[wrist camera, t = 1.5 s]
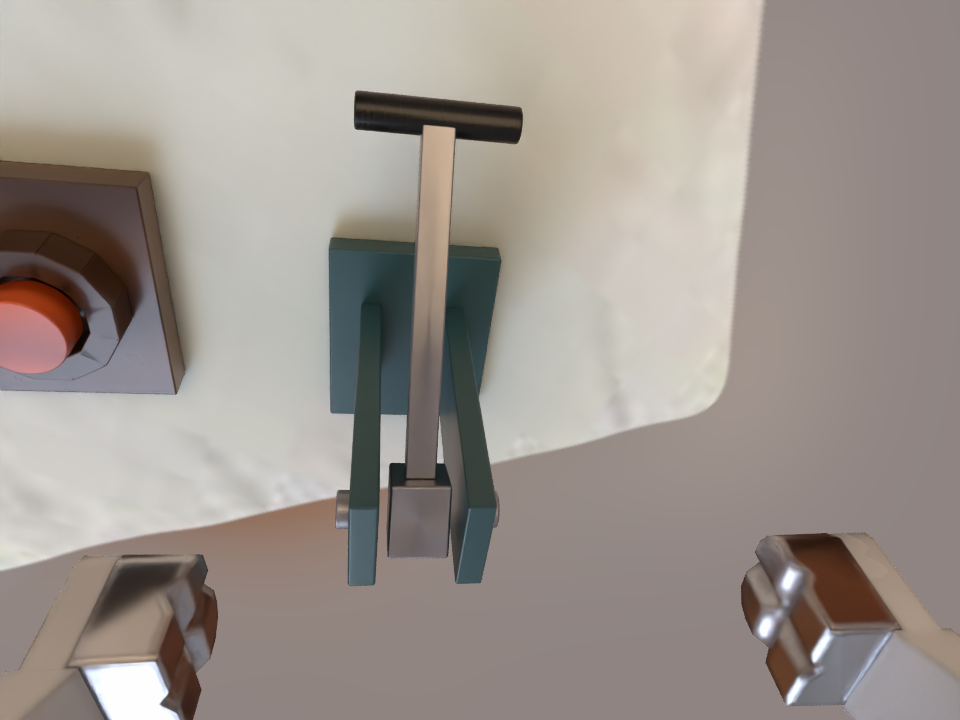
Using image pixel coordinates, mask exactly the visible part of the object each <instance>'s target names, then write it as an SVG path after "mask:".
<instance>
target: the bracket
mask: <svg viewBox="0 0 960 720" xmlns="http://www.w3.org/2000/svg"><path fill="white" fill-rule="evenodd" d="M414 261H415V243H408V242H393V241H377V240H362V239H346V238H331V239H330V245H329V317H330V409H331V413H344V414H354V429H353V445H352V462H351V478H350V490H338V491H337V499H336V529H348V530H349V531H348V585H349V586H364V585H365V586H367V585H374V584H375V576H376V575H375V574H376V558H377V540H378V522H379V491H380V417H381V414H392V415H407V407H408V386H409V365H410V344H411V323H412V302H413V281H414ZM500 266H501V257H500V253H499V250H498V249H497V248H486V247H470V246H455V245H449V259H448V276H447V293H446V310H445V327H444V344H443V361H442V379H441V396H440V413H439V415H440V423H441V434H442V445H443V455H444V464H445V465H446V468H447V471H448V475H449V478H450V482H451V485H452V503H451V518H450V529H451V541H452V552H453V563H454V573H455V582H456V584H468V583H481V580H482V575H483V571H484V566H485V562H486V557H487V552H488V547H489V543H490V538H491V534H492V529H493V528H495V527H497V525H498V521H499V498H498V494H497V491H495V490H494V485H493V480H492V474H491V468H490V462H489V456H488V450H487V444H486V438H485V432H484V426H483V420H482V414H481V408H480V402H479V392H480V386H481V380H482V374H483V368H484V362H485V356H486V350H487V344H488V338H489V332H490V326H491V320H492V314H493V308H494V302H495V296H496V290H497V284H498V278H499V272H500Z"/></svg>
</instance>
